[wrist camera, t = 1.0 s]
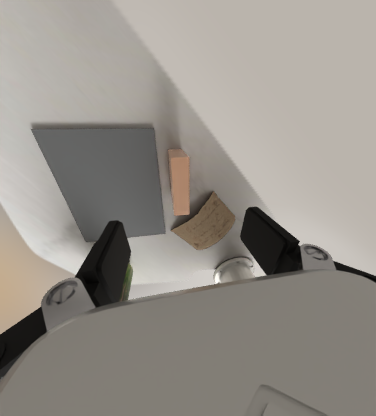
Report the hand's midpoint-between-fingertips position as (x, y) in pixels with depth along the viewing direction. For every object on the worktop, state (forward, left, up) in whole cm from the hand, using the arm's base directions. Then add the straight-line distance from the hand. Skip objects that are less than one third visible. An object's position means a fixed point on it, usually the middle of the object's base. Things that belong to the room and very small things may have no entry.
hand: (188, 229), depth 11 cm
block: (0, -1, -17) cm, 17 cm away
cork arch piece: (-12, -7, -17) cm, 22 cm away
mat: (-3, +10, -17) cm, 20 cm away
